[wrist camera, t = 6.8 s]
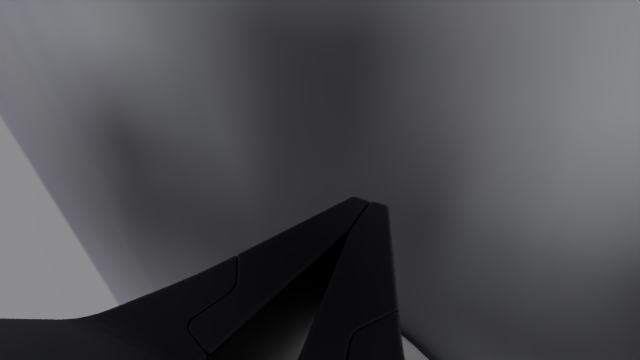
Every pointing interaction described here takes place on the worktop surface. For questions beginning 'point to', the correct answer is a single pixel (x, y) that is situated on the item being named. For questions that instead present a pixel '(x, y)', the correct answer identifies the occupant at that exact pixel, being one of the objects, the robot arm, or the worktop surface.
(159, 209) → the worktop surface
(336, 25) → the worktop surface
